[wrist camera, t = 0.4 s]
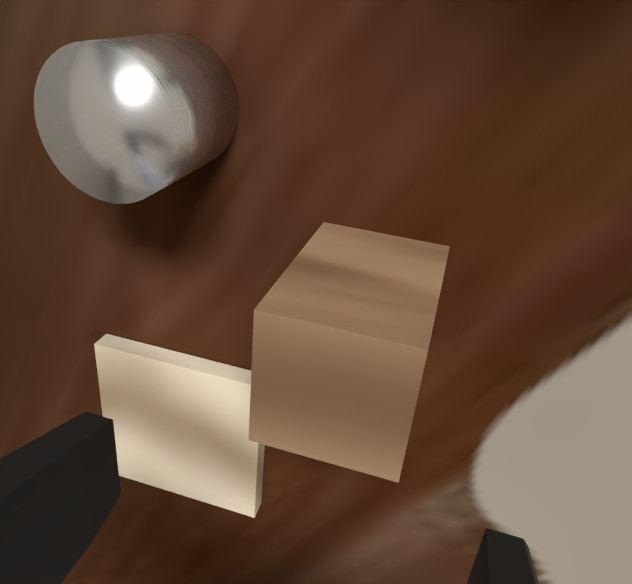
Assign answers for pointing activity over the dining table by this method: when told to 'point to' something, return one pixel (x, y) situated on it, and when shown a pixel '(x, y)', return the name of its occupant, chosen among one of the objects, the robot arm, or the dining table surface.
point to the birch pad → (181, 423)
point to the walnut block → (345, 348)
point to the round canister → (134, 112)
